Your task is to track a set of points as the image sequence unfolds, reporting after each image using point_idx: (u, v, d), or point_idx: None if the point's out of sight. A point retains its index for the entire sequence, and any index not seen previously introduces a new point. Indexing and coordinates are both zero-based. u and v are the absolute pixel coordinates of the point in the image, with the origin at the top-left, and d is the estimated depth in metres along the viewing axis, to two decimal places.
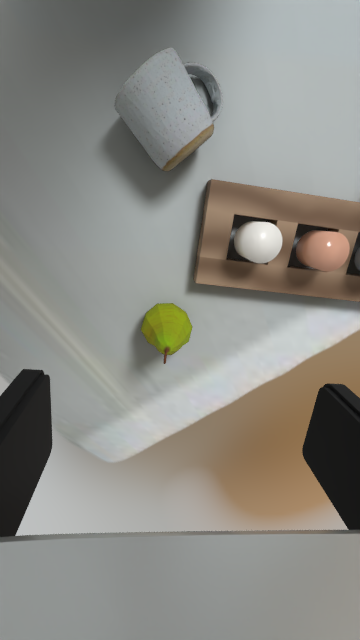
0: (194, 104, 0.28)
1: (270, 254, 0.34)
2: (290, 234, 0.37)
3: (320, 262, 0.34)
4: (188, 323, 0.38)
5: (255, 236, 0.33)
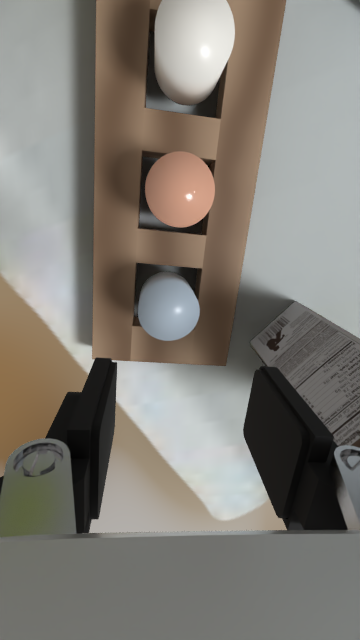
0: None
1: (173, 54, 0.17)
2: (197, 148, 0.22)
3: (162, 172, 0.19)
4: None
5: (208, 12, 0.16)
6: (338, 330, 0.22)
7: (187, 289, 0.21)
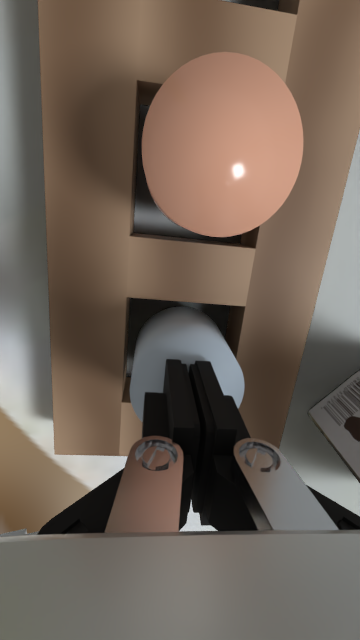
0: None
1: None
2: None
3: (182, 107, 0.08)
4: None
5: None
6: None
7: (223, 352, 0.11)
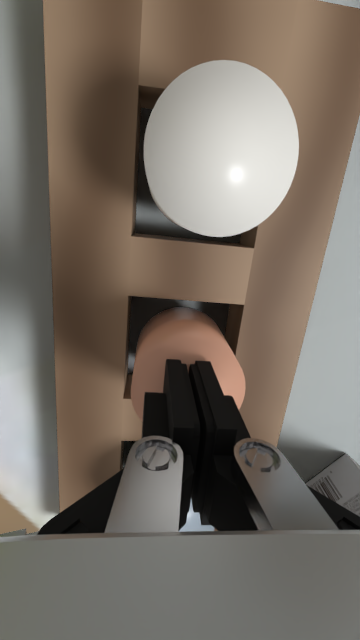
0: None
1: (179, 195, 0.09)
2: (216, 289, 0.14)
3: (159, 369, 0.11)
4: None
5: (248, 119, 0.08)
6: None
7: None
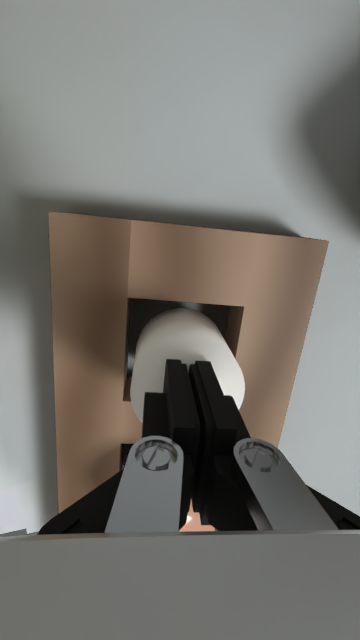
0: None
1: None
2: None
3: None
4: None
5: None
6: None
7: None
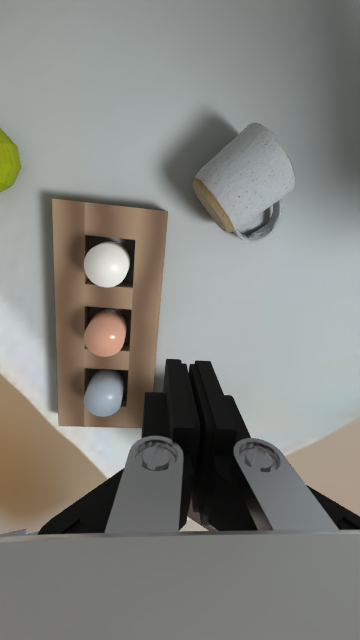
0: (250, 207, 0.29)
1: (94, 276, 0.31)
2: (119, 303, 0.35)
3: (93, 330, 0.33)
4: None
5: (112, 257, 0.31)
6: None
7: (112, 388, 0.36)
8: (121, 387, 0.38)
